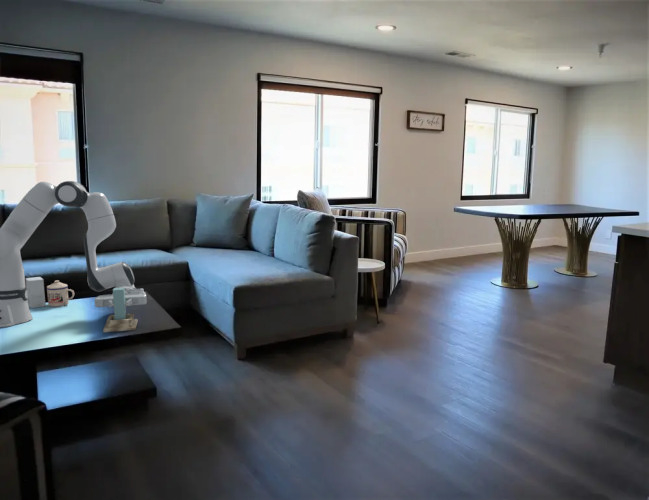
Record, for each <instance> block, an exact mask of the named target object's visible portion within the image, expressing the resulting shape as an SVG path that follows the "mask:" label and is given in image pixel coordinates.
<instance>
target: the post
mask: <svg viewBox="0 0 649 500" xmlns="http://www.w3.org/2000/svg"><path fill="white" fill-rule="evenodd" d="M112 294H113V301H114V307H113V312H114V314H113V315H114V317H115V320H122V319H126V314H127V310H126V306H125V289H124V288H116V287H113V289H112Z"/></svg>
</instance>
